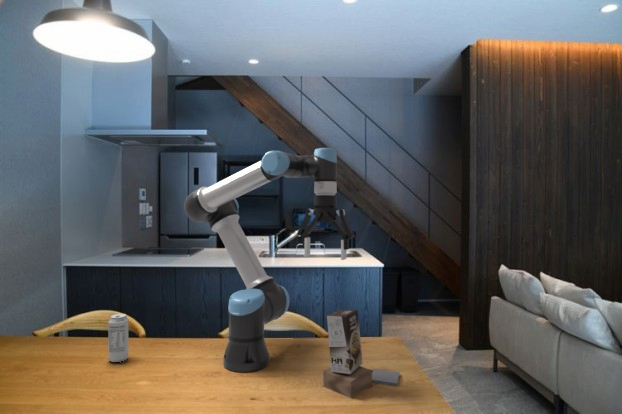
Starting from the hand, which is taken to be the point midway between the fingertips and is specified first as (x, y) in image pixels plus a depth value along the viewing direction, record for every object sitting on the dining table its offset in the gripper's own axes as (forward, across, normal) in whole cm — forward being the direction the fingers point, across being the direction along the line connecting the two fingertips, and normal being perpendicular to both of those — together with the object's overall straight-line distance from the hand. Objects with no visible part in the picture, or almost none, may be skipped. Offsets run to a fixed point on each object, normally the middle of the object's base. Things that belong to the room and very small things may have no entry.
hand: (325, 258), depth 133 cm
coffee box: (+30, +14, -13) cm, 35 cm away
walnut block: (+35, +14, -13) cm, 40 cm away
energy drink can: (+35, -61, -33) cm, 78 cm away
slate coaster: (+35, +22, -3) cm, 41 cm away
